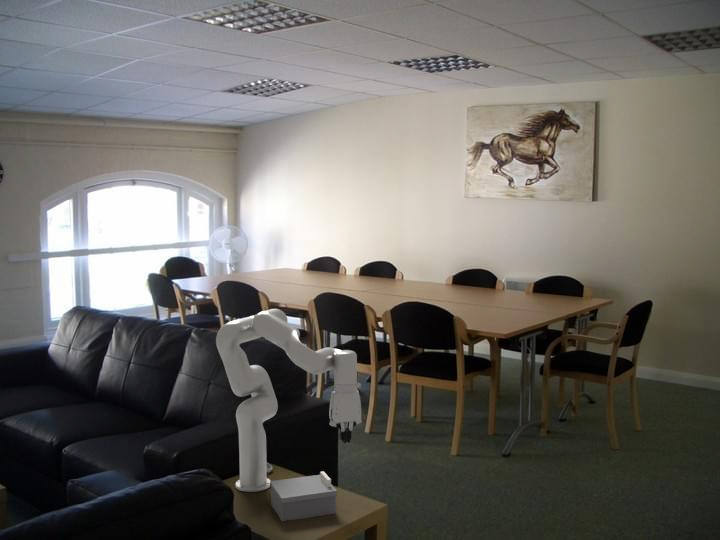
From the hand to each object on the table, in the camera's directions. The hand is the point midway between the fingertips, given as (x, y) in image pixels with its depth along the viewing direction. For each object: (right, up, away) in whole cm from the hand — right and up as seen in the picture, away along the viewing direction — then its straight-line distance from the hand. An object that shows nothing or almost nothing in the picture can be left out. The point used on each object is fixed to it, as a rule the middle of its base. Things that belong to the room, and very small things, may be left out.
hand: (345, 441), depth 250 cm
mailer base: (-14, -22, -3) cm, 26 cm away
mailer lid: (-14, -15, -4) cm, 21 cm away
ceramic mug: (-34, -19, +32) cm, 50 cm away
